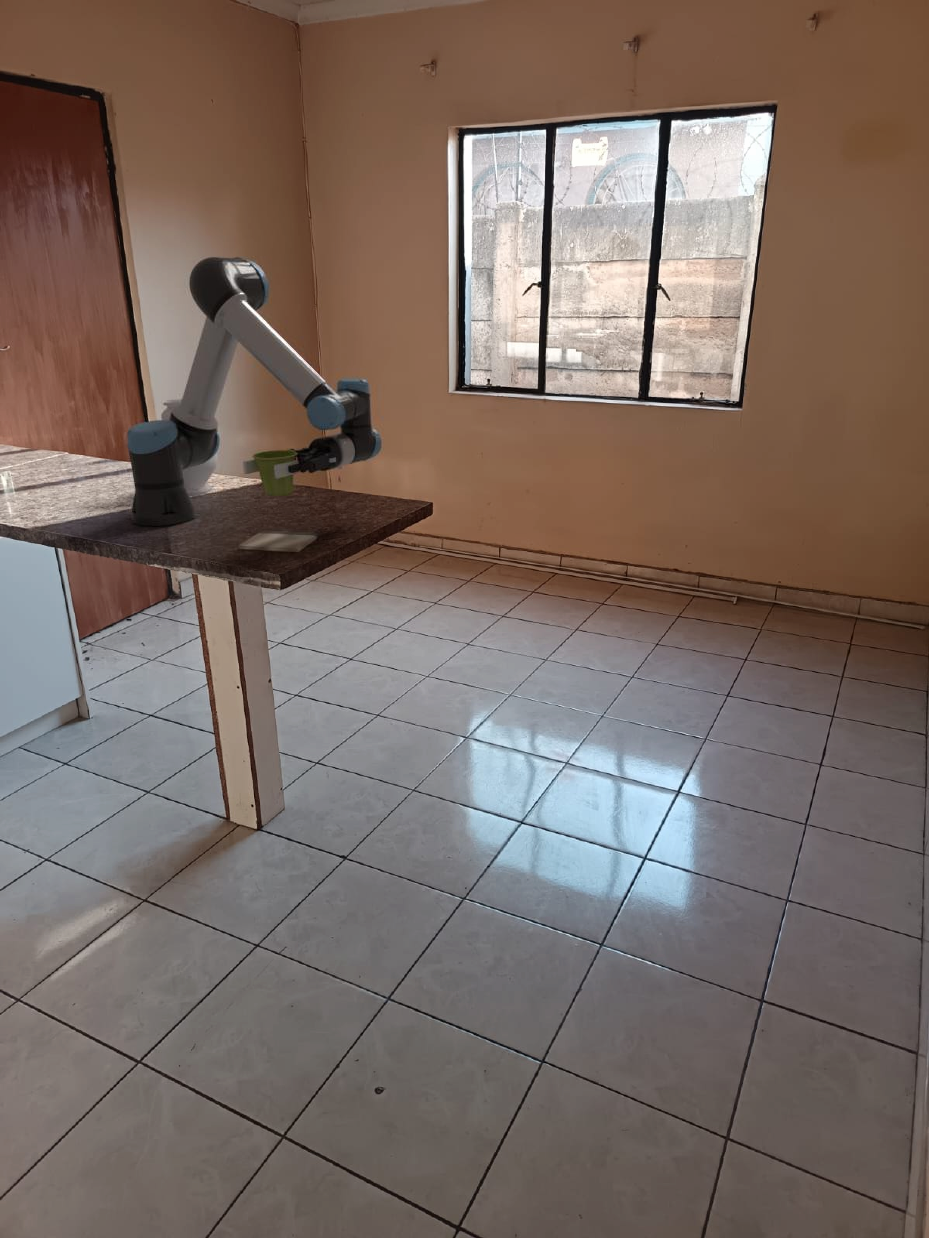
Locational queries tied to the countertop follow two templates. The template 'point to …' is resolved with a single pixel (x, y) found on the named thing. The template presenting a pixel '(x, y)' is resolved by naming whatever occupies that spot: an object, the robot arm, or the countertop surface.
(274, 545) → the board
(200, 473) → the decorative vase
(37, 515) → the countertop surface
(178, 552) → the countertop surface
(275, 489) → the plant pot
